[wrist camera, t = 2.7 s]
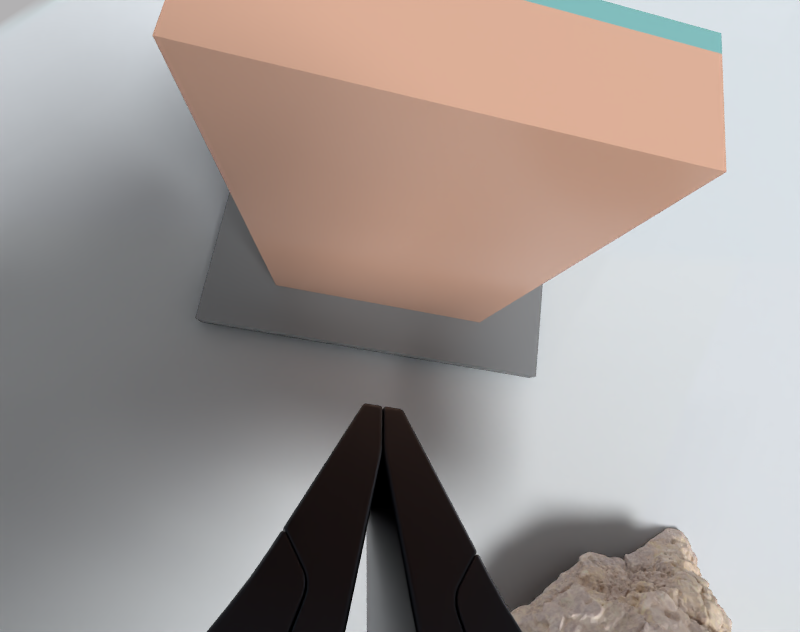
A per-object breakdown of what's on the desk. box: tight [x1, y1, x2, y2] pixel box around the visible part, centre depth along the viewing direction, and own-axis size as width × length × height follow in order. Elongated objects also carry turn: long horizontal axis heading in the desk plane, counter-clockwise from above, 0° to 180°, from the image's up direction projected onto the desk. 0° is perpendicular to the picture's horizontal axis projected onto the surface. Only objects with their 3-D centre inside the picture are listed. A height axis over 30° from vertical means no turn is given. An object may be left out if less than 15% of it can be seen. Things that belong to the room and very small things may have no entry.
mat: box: [195, 193, 543, 378], centre depth 18 cm, size 19×13×1 cm
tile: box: [153, 0, 726, 322], centre depth 11 cm, size 2×8×11 cm, turn 81°
